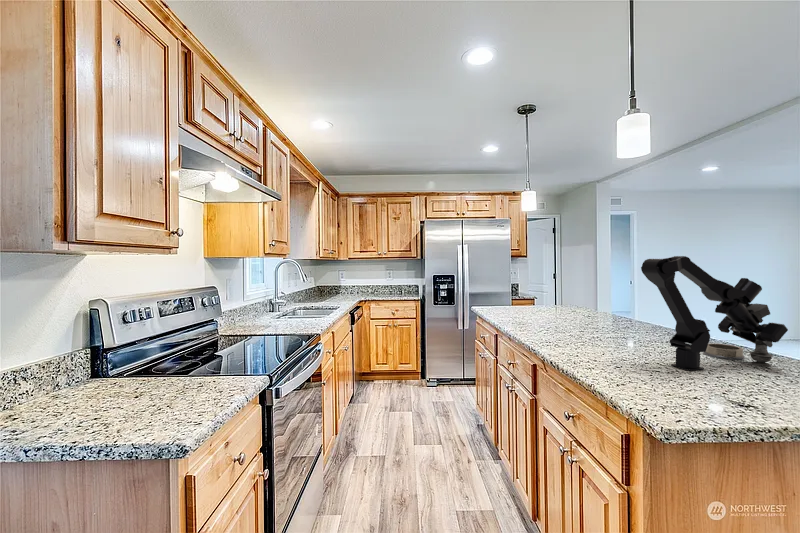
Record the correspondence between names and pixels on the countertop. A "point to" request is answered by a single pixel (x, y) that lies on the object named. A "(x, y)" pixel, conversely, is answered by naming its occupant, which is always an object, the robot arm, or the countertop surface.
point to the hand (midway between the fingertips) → (764, 345)
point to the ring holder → (724, 351)
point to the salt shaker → (760, 354)
